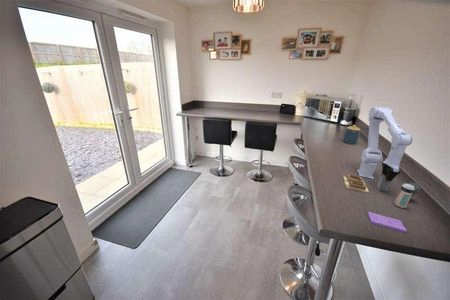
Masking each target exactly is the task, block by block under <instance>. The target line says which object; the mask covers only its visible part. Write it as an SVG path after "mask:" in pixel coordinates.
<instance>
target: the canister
mask: <svg viewBox="0 0 450 300" xmlns="http://www.w3.org/2000/svg"><path fill="white" fill-rule="evenodd" d="M360 134H361V128H360V127H358V126H357V125H356V124H353V125H349V126H347V127H346V128H345V131H344V133H343V136H342V140H341V141H342V143H344V142H345V144H347V143H350V144H349V145H353V144H355V145H357V144H358V141H359V138H360Z"/></svg>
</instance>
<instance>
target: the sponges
mask: <svg viewBox="0 0 450 300" xmlns="http://www.w3.org/2000/svg"><path fill="white" fill-rule="evenodd" d="M367 216H368V218H369V221H370V223H371V224H372V225H377V226H380V227H384V228H386V227H388V228H387V229H391V230H394V231H397V230H399V231H398V232H401V231H402V232H401V233H406V232H407V228H406V227H405V226H404V224H403V222H402V221H401V220H400V219H396V218H394V217H389V216H385V215H382V214H378V213H374V212H370V211H368V212H367Z"/></svg>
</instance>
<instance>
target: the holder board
mask: <svg viewBox="0 0 450 300" xmlns="http://www.w3.org/2000/svg"><path fill="white" fill-rule="evenodd" d="M342 179H344V180H343V182H344V186H345V188H346V190H352V191H355V192H360V193H365V194H367V195H368V194H369V193H370V191H369V189H368V187H367V185H366V183H365V181H364V179H363V177H362V176H359V175H354V174H349V173H347V174H346V175H342Z"/></svg>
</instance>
